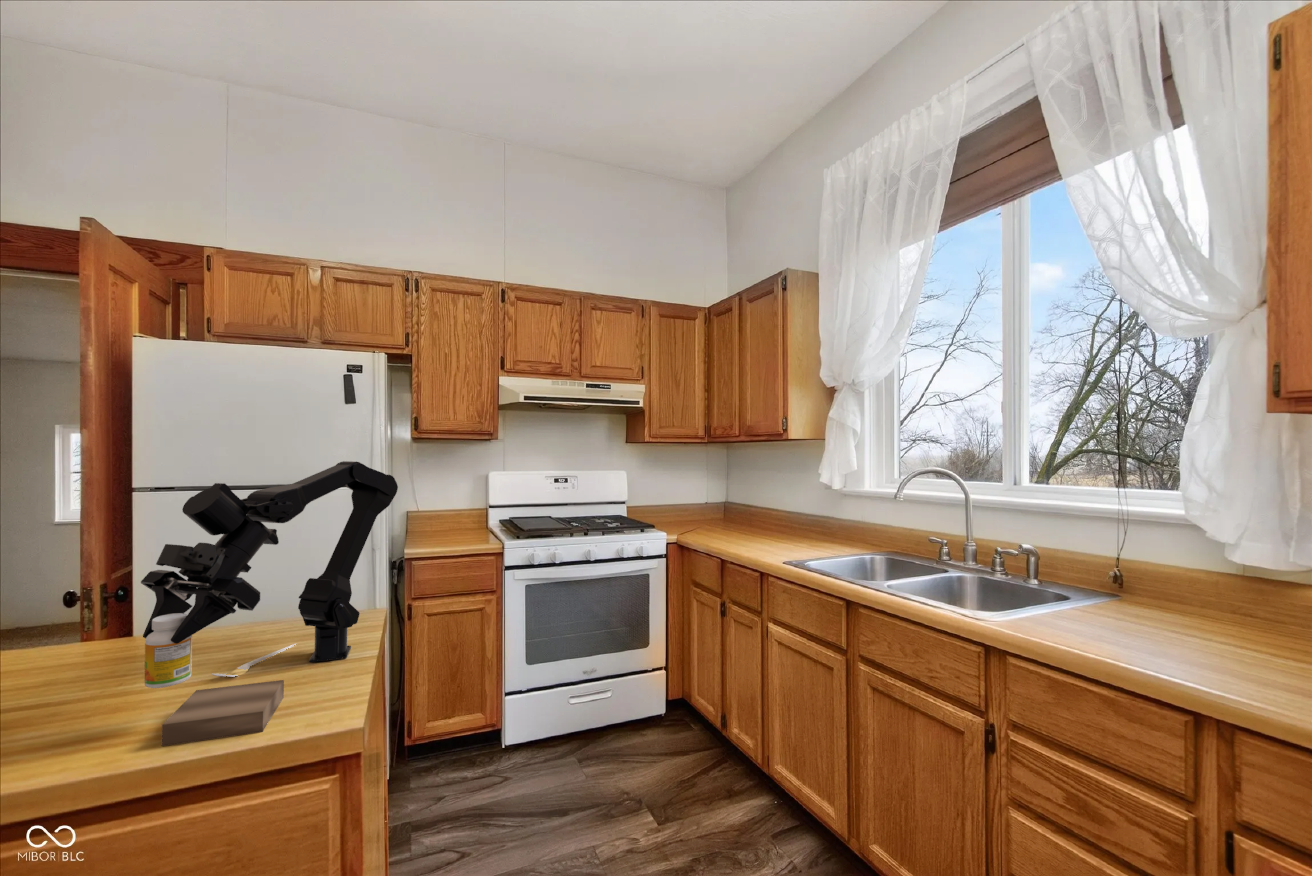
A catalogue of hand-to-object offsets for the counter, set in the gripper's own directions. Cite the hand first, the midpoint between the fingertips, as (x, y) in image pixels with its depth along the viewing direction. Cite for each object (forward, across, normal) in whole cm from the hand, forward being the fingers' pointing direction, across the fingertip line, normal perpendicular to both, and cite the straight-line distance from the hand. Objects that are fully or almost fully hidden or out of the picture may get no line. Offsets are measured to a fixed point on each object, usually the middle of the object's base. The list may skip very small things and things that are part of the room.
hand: (159, 640), depth 84 cm
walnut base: (+6, +7, +13) cm, 16 cm away
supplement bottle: (+4, 0, +6) cm, 7 cm away
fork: (-7, -10, +28) cm, 30 cm away
